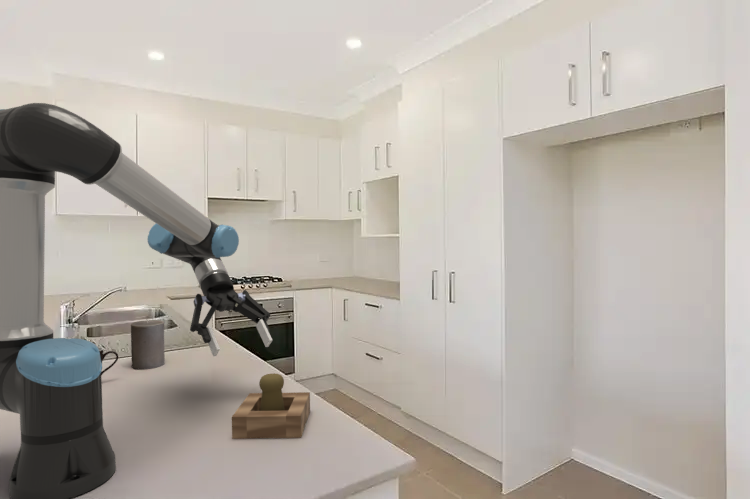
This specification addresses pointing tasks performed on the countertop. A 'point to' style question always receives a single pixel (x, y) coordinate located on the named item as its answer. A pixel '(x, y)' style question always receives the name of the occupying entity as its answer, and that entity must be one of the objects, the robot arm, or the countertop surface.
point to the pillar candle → (147, 344)
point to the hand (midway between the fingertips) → (244, 348)
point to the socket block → (271, 417)
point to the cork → (271, 392)
